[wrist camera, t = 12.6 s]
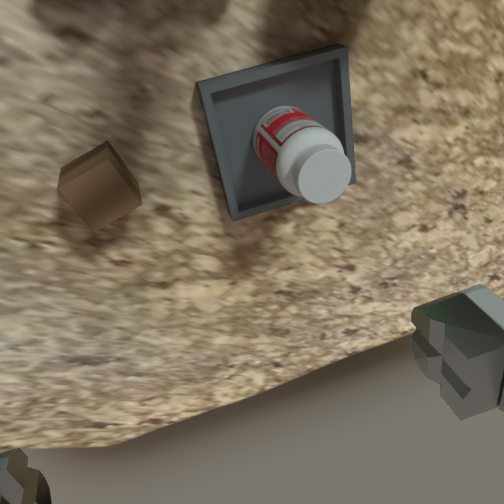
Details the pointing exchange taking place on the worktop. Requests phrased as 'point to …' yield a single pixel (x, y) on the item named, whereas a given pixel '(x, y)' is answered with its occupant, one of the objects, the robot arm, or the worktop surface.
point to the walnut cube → (99, 187)
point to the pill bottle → (302, 154)
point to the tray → (257, 105)
